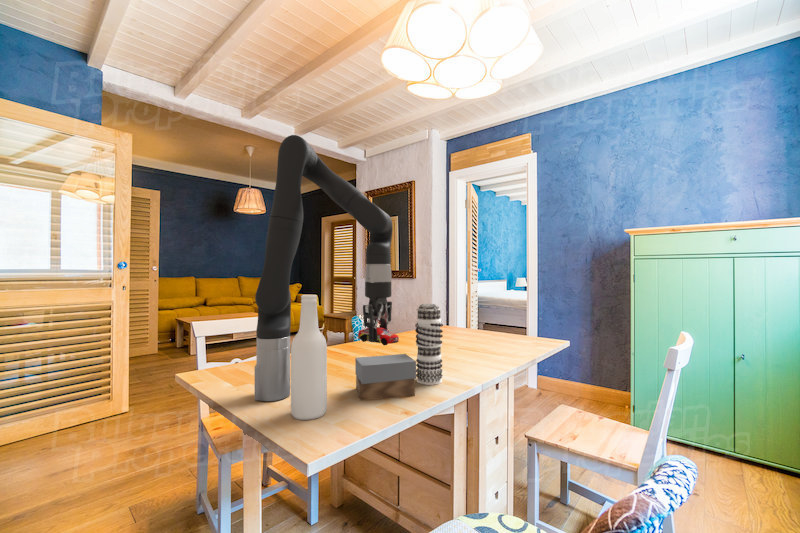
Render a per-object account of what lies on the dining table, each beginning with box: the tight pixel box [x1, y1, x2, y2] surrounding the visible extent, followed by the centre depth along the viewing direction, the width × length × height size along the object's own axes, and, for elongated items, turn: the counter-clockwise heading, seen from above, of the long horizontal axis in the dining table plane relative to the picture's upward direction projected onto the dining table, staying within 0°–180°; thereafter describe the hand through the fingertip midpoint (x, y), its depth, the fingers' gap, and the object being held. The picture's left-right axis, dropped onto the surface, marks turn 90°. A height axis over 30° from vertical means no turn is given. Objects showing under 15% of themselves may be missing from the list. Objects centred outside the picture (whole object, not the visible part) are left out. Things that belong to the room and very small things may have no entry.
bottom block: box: [355, 375, 416, 401], centre depth 105 cm, size 16×10×5 cm, turn 102°
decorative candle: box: [414, 303, 444, 386], centre depth 116 cm, size 9×9×25 cm
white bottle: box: [290, 294, 328, 421], centre depth 89 cm, size 9×9×30 cm
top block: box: [354, 353, 417, 384], centre depth 105 cm, size 16×10×5 cm, turn 107°
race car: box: [357, 326, 399, 346], centre depth 100 cm, size 13×5×4 cm, turn 51°
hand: (378, 339), depth 99 cm, fingers closed on race car, 6 cm apart
